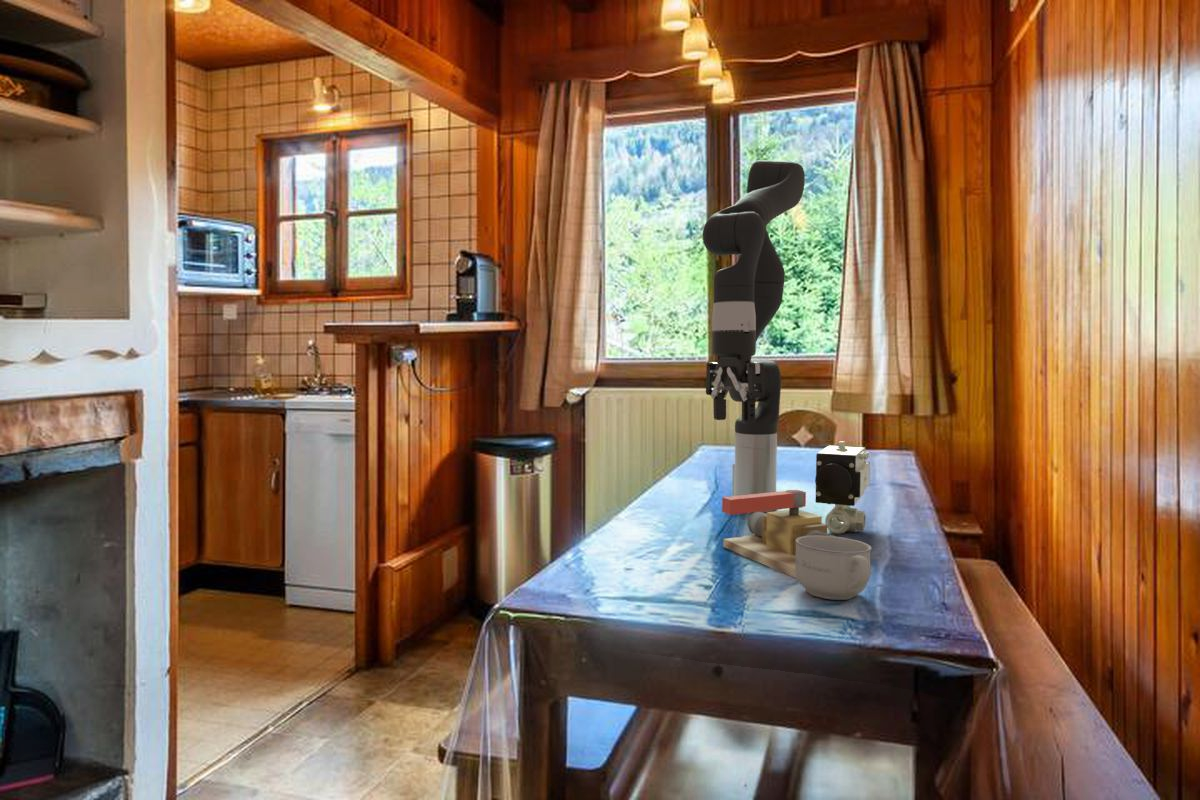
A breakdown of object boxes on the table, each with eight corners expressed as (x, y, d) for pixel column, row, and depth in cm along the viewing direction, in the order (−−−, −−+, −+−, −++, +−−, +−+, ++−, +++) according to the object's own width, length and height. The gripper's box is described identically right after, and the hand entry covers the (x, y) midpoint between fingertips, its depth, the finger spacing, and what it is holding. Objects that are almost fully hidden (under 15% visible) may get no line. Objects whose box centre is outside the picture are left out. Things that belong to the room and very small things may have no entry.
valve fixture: (723, 546, 142) (723, 498, 142) (789, 538, 149) (790, 491, 148) (797, 578, 123) (798, 522, 123) (869, 567, 129) (871, 514, 129)
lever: (795, 503, 137) (795, 489, 137) (807, 506, 134) (807, 492, 134) (720, 511, 131) (721, 496, 131) (731, 515, 128) (731, 500, 128)
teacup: (784, 583, 121) (785, 533, 120) (852, 582, 122) (853, 531, 121) (817, 615, 107) (818, 558, 106) (893, 612, 108) (894, 556, 107)
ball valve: (859, 543, 145) (861, 448, 143) (812, 538, 148) (814, 446, 147) (871, 523, 161) (873, 437, 159) (829, 519, 164) (831, 435, 163)
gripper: (693, 330, 141) (693, 419, 142) (740, 326, 128) (740, 425, 129) (728, 330, 144) (728, 418, 145) (776, 327, 131) (776, 423, 132)
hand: (733, 421), depth 137 cm, fingers open, 8 cm apart
